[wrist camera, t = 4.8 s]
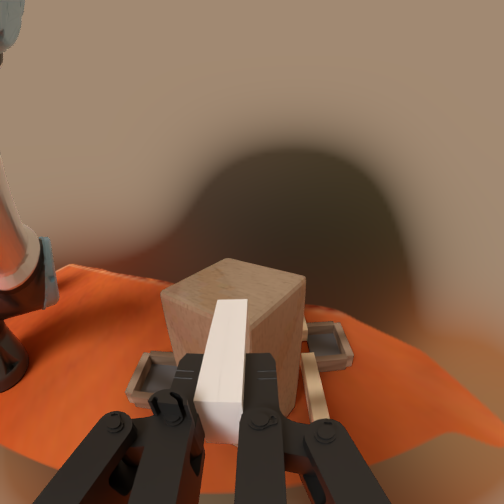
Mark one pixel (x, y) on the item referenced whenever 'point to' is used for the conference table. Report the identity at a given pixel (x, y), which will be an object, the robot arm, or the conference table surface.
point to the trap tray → (318, 360)
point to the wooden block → (259, 313)
